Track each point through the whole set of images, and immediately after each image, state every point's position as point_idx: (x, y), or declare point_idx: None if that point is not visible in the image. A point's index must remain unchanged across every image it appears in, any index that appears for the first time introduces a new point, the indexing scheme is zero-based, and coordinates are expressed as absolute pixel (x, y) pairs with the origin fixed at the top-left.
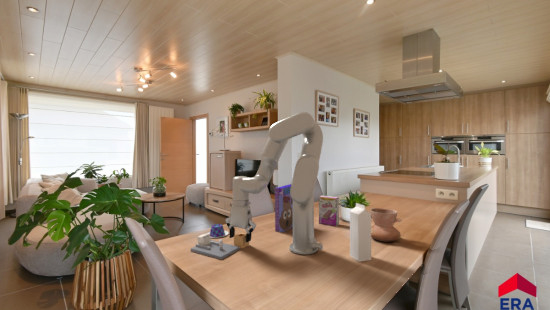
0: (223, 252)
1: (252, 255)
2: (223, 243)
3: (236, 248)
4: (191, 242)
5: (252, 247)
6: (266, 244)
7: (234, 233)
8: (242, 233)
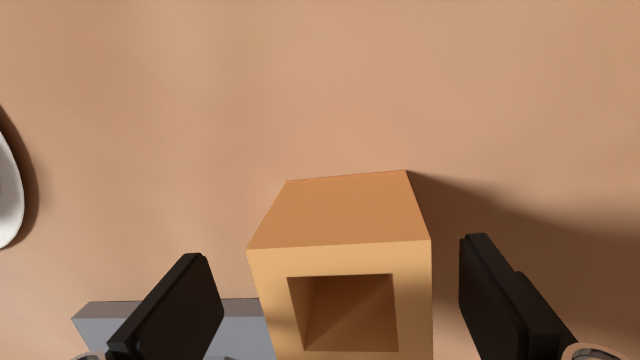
0: None
1: (596, 330)
2: (220, 325)
3: None
4: (19, 354)
5: (487, 203)
6: (625, 19)
7: (186, 284)
8: (304, 266)
